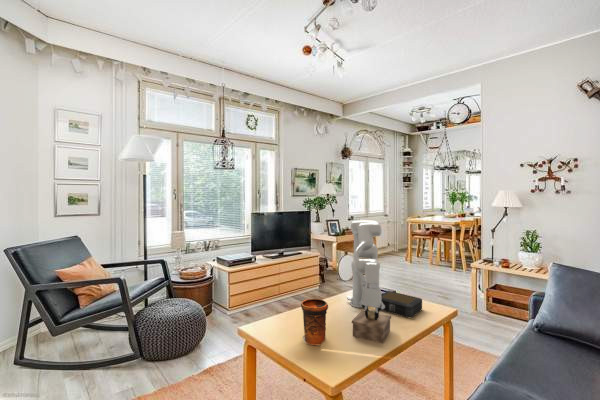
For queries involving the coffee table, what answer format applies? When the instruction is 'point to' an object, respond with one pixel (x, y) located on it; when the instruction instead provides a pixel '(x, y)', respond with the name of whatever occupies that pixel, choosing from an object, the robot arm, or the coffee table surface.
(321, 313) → the vessel
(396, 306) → the cash box
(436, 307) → the coffee table surface
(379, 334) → the storage box
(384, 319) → the lid
